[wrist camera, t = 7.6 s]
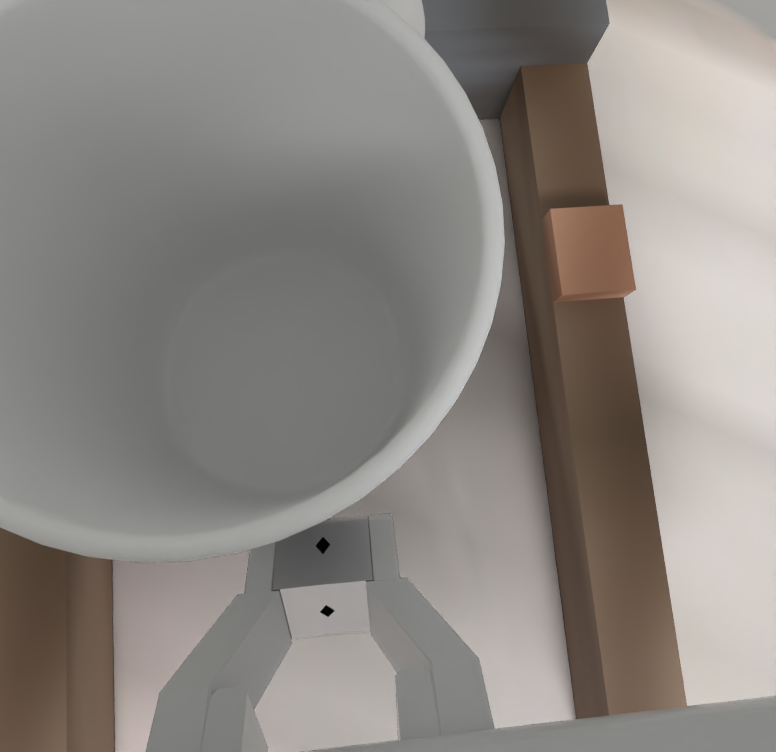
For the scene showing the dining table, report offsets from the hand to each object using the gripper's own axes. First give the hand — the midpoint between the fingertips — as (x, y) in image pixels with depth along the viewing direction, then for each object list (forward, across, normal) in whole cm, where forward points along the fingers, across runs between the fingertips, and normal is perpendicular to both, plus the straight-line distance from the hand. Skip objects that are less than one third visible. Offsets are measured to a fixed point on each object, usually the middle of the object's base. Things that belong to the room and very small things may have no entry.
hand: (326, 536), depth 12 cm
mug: (+8, 0, -1) cm, 8 cm away
